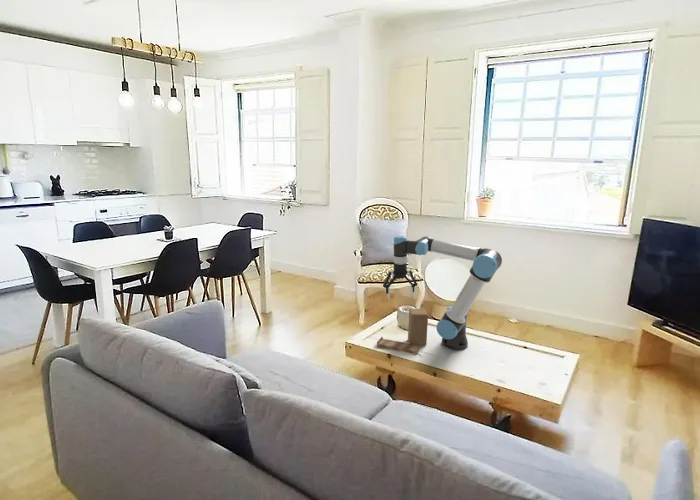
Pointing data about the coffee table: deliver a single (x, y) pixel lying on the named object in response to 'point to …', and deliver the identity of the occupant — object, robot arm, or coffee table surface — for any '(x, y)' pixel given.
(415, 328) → the wooden block
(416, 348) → the plank
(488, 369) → the coffee table surface
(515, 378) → the coffee table surface
